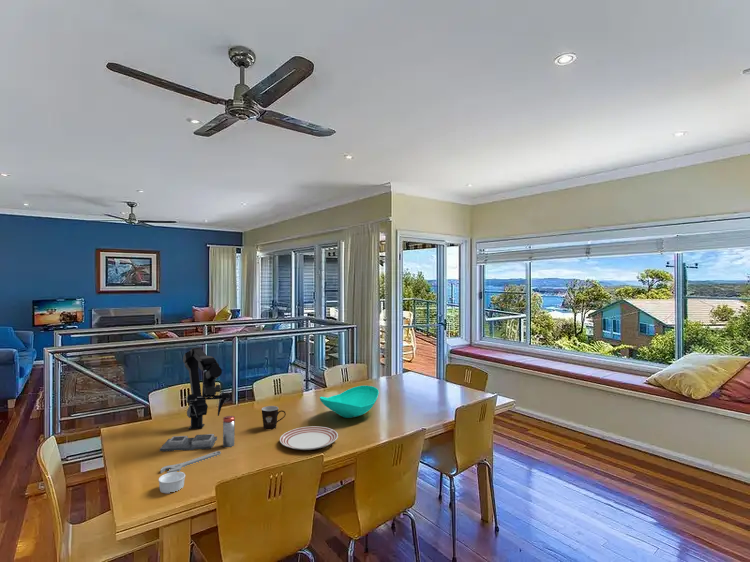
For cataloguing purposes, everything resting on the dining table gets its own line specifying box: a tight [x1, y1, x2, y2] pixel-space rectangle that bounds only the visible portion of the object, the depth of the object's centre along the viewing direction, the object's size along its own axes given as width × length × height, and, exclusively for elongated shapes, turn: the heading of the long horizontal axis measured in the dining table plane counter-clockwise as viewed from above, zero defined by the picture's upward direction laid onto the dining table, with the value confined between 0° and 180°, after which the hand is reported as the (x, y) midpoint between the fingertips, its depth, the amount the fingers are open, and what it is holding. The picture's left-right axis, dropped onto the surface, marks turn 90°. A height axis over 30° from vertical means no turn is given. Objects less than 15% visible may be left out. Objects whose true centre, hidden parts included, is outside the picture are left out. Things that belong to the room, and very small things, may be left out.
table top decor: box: [319, 385, 380, 419], centre depth 235 cm, size 40×28×13 cm
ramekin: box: [158, 471, 186, 494], centre depth 151 cm, size 9×9×4 cm
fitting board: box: [159, 433, 218, 452], centre depth 191 cm, size 12×22×3 cm, turn 99°
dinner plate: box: [279, 425, 339, 451], centre depth 195 cm, size 27×27×3 cm
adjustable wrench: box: [159, 450, 222, 474], centre depth 171 cm, size 25×6×2 cm, turn 137°
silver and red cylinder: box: [222, 415, 236, 448], centre depth 190 cm, size 5×5×13 cm
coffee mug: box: [261, 405, 286, 430], centre depth 214 cm, size 12×9×10 cm
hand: (207, 416), depth 191 cm, fingers open, 9 cm apart
